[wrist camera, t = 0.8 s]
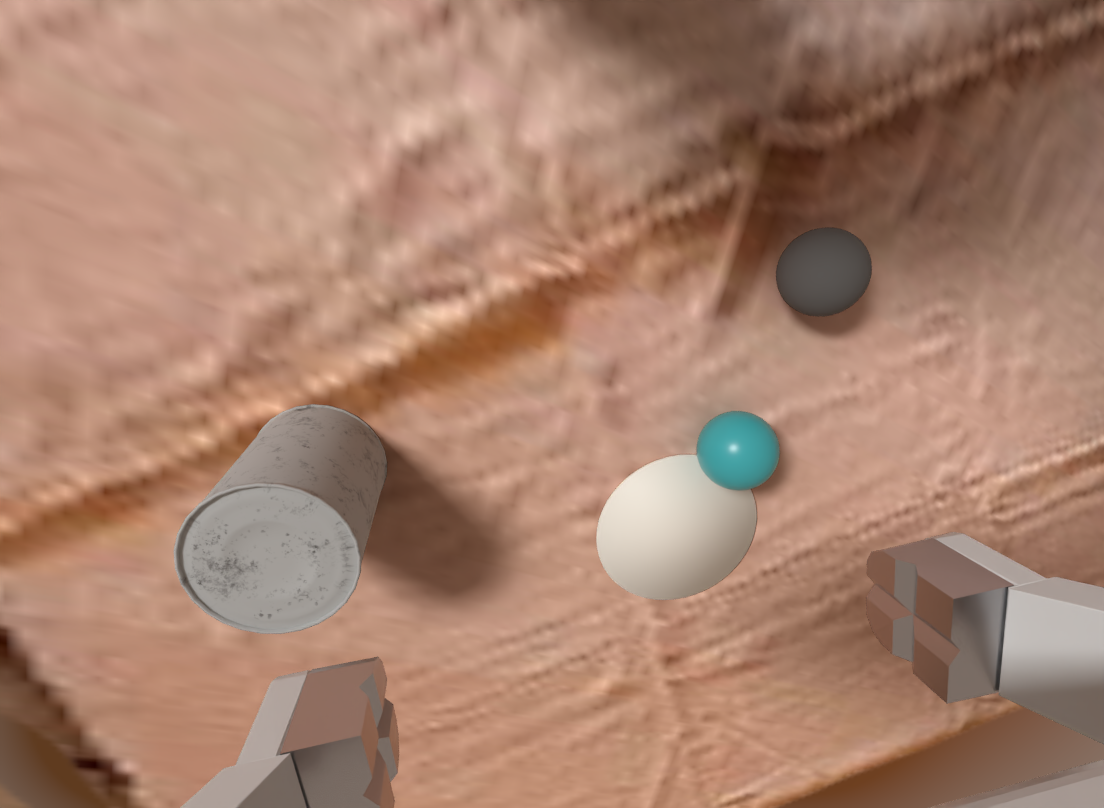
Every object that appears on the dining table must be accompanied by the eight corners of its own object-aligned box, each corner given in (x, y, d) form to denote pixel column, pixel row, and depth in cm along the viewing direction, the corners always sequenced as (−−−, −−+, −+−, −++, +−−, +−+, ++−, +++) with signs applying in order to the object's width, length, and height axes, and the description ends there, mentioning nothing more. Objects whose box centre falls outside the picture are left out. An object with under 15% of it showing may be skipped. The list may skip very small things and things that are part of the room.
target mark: (633, 434, 46) (634, 435, 46) (782, 478, 50) (784, 479, 49) (572, 580, 50) (572, 582, 50) (714, 611, 53) (715, 613, 53)
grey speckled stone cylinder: (277, 383, 41) (204, 457, 29) (407, 434, 44) (387, 520, 32) (233, 496, 43) (150, 605, 32) (359, 538, 46) (325, 653, 34)
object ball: (703, 391, 46) (737, 418, 40) (768, 411, 47) (809, 441, 42) (673, 458, 47) (701, 494, 42) (737, 476, 49) (772, 513, 43)
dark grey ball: (783, 213, 42) (832, 216, 36) (851, 241, 43) (908, 248, 38) (747, 293, 44) (789, 307, 38) (814, 318, 45) (863, 335, 39)
